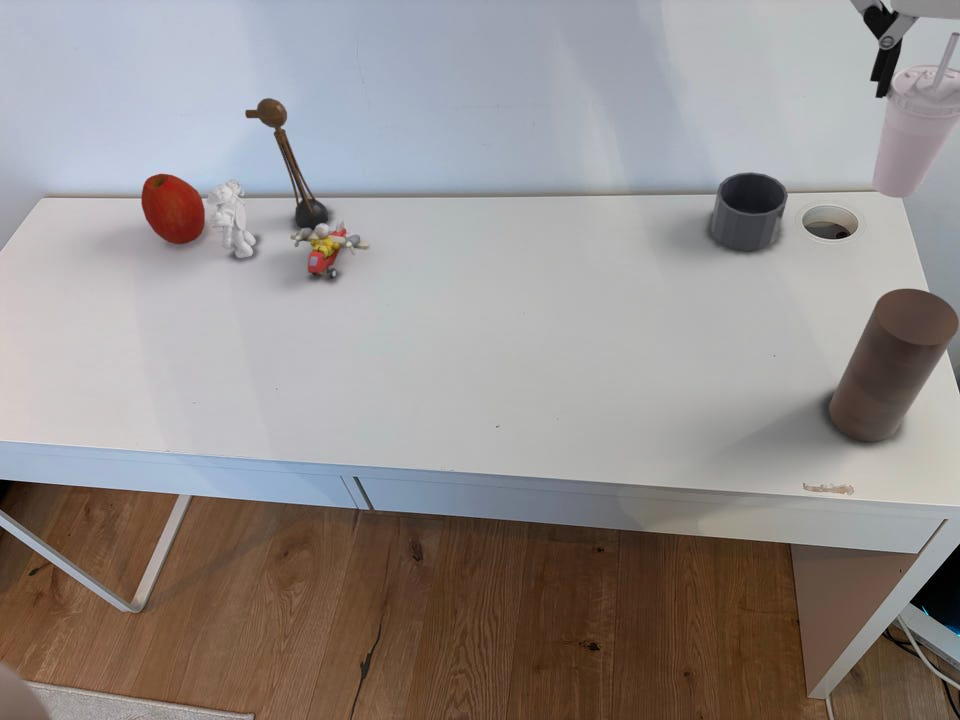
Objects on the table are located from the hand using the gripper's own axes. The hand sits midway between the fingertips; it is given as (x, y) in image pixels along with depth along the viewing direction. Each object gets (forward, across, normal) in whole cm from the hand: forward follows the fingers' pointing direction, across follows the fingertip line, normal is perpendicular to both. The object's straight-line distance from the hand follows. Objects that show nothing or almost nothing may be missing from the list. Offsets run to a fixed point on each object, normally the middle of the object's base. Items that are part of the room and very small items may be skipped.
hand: (931, 92), depth 57 cm
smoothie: (+9, 0, 0) cm, 9 cm away
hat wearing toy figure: (+32, +79, +5) cm, 85 cm away
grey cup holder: (+33, +13, -18) cm, 40 cm away
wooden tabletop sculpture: (+32, +73, -3) cm, 80 cm away
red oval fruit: (+32, +90, +5) cm, 95 cm away
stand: (+33, -4, +7) cm, 34 cm away
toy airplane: (+32, +65, +3) cm, 72 cm away
